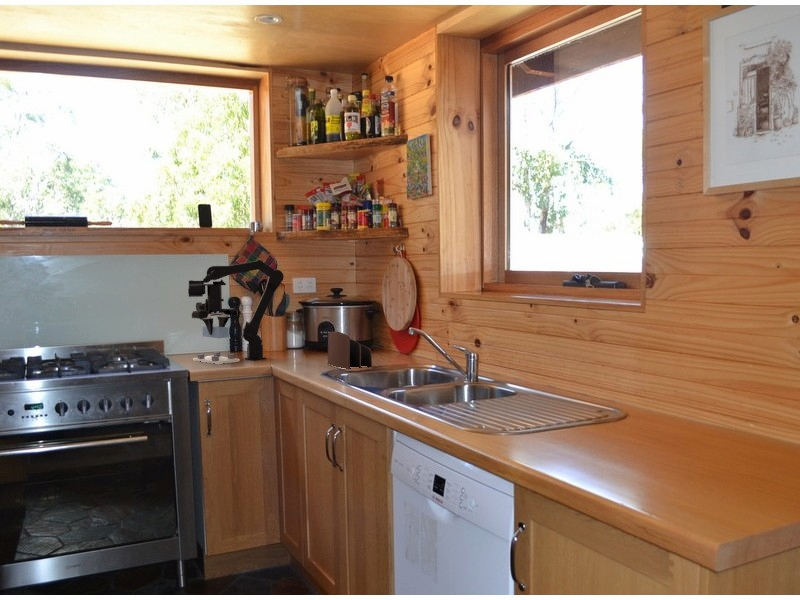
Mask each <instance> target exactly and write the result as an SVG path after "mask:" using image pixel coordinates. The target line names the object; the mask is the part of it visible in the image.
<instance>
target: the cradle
mask: <svg viewBox="0 0 800 600" xmlns="http://www.w3.org/2000/svg"><path fill="white" fill-rule="evenodd" d="M196 355H197V356H196V357H193V358H192V360H193V361H194V362H200V361H201V362H202V363H206V362H207V364H213V363H215V364H214V365H224V364H223V363H225V364H230V363H232V364H233V363H238V362H241V361H240V358H236V356H235V355H236V354H235V353H228V354H227V356H222V355H221V351H213V354H211V355H207V356H205V353H198V354H196Z"/></svg>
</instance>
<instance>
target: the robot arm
mask: <svg viewBox="0 0 800 600" xmlns="http://www.w3.org/2000/svg"><path fill="white" fill-rule="evenodd" d="M257 270H259V271H260V272H261V273H263V274H264V275H265V276H267V277H268V278H267V281H266V286H265V289H264V291H263V294H262V295H261V298H260V300H259V302H258V305H256V306H257V307H256V309H255V311H254V312H253V316H252V317H251V319H250V321H248V320H245V323H244V326H243V328H242V329H241V330H242V337H243V339H244V340H245V342H247V344H246V345H247V346H246V350H247V351H246V353H247V354H246V357H244V360H250V361H256V360H264V359H267V357H266V356H264V353H263V351H264V350H263V349H264V348H263V347H264V345H263V344H262V343H263V339H262V337H261V336H259V334H258V333H259V329H260V325H261V321H262V319H263V316H264V315H265V313H266V310H267V309H268V306H269V304H270V302H271V299H272V297H273V296H274V294H275V292H276V290H277V289H278V288H279V286H280V285H281V284H282V282H283V280H284V276H285V275H284V272H283V271H281V270H279V269H274V268H272V267H271V266H269V265H268V264H267V263H265V262H264V261H263V260H260V259H257V260H254V261H248V262H243V263H238V264H231V265H212V266H211V265H210V266H209V267H208V268H207V270H206V275H205V277H203V278H202V280H192V279H190V280H188V289H187V290H188V298H197V297H198V298H200V297H201V298H202V297H204V295H206V296H207V298H205V302H204V303H202V302H196V303H195V310H193V311H192V313H191V318H192V319H199V320H200V321H201V320H202V322H203V323H204V324H205V326H206V327H207V329H208V332H209V334H210V335H212V331H213V326H214V318H212V316H214V317H215V316H216V317H217V320H218V327H226V325H227V323H228V321H229V320H230V319H231V316H234V317H235V316H238V310H237V308H229V307H228V308H223V302H225V301H224V300H225V299H224V298H223V293H222V289H223V288H222V286H226V285H227V283H226V282H225V280H223V278H224V277H227V276H230V275H235V274H241V273H246V272H252V271H257ZM219 279H220V281H219ZM216 280H218V281H216ZM211 281H212V283H209V282H211ZM206 293H207V294H206ZM229 315H230V316H229Z"/></svg>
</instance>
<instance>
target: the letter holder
mask: <svg viewBox="0 0 800 600" xmlns="http://www.w3.org/2000/svg"><path fill="white" fill-rule="evenodd" d="M327 338H328V339H327V341H328V342H327V365H328V364H330V365H333V366H336V367H341V368H346V369H351V368H350V367H359V368H362V367H361V366H367V367H368V368H369V367H372V368H373V358H372V357H373V356H372V350H371V348H369V347H368V346H366V345H363V344H360V342H358V341H356V340H354V339H351V338H350V336H349V335H348V334H346V333H343V332H340V331H329V332H328V337H327Z"/></svg>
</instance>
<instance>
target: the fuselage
mask: <svg viewBox="0 0 800 600" xmlns="http://www.w3.org/2000/svg"><path fill="white" fill-rule="evenodd" d="M201 329H202V331H201V333H202V337H206V338H214V339H225V338H226V339H227V338H229V337H230V336H229V333H230V332H229V331H230V330H229V327H227V326H225V327H219V325H218V326H217V325H213V331H212V335H210V334H209V332H208V329H207V327H206V325H205V326H202V328H201Z"/></svg>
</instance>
